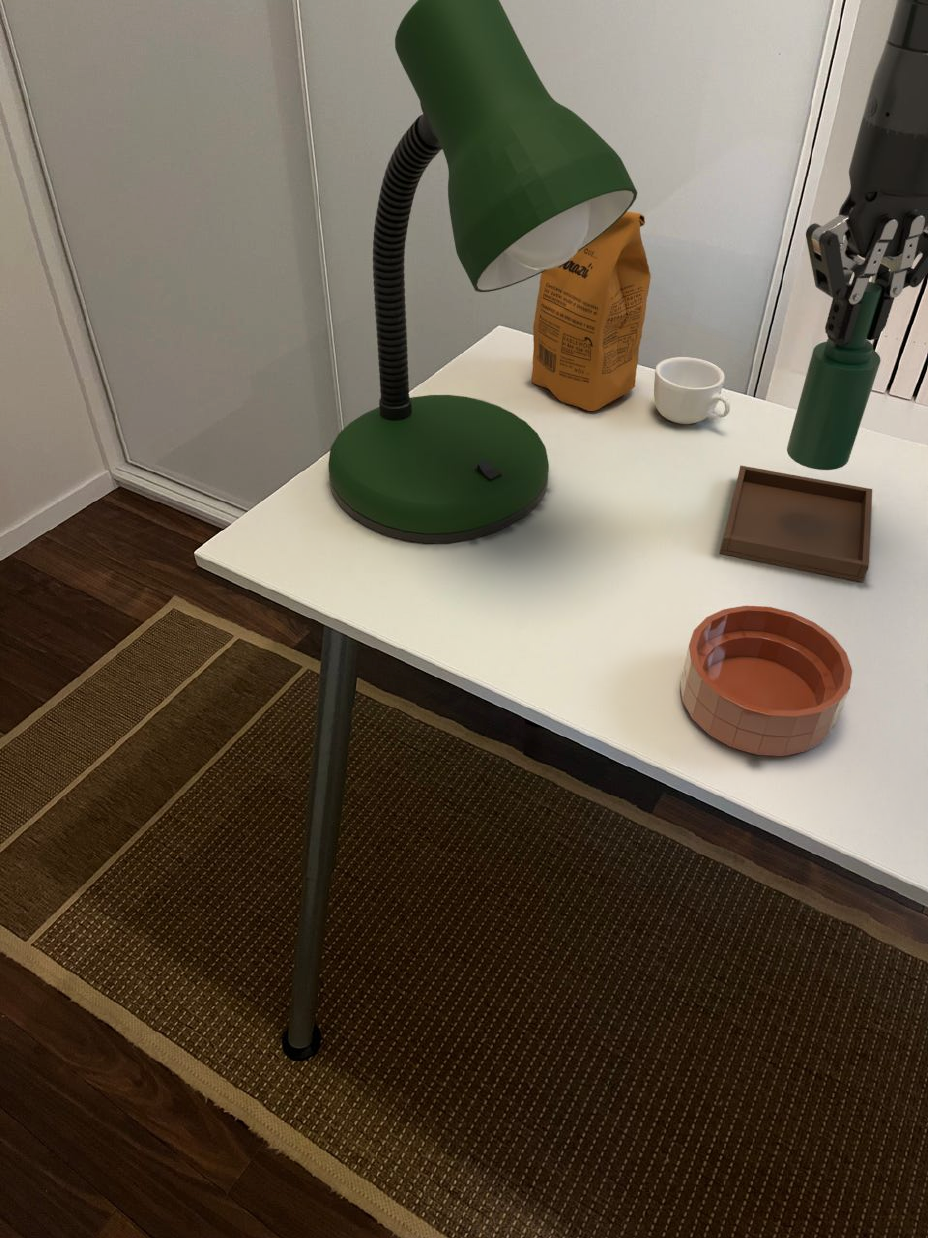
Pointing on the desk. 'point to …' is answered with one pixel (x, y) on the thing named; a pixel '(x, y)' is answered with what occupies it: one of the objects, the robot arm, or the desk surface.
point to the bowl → (765, 680)
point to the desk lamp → (470, 270)
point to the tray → (800, 523)
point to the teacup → (688, 390)
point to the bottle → (836, 394)
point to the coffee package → (593, 318)
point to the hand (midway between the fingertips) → (852, 337)
